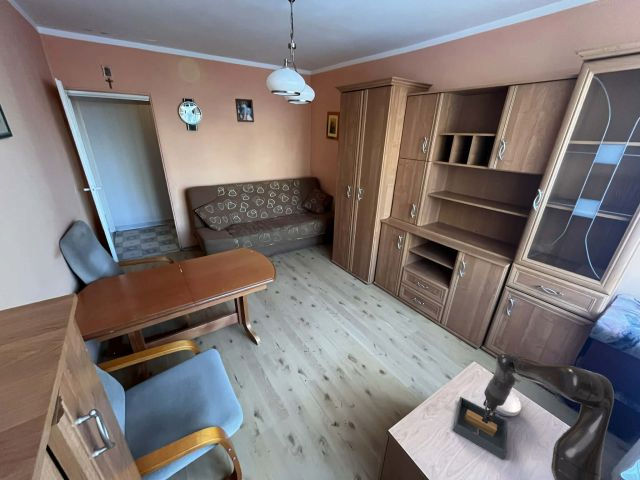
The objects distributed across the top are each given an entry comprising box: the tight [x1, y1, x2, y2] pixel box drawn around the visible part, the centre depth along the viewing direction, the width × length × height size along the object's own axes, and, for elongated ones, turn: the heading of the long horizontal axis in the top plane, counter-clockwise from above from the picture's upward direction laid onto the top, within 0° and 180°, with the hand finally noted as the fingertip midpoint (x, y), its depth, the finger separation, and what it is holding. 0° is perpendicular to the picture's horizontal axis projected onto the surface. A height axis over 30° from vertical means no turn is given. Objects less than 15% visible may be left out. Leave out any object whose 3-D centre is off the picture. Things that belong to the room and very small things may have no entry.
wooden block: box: [464, 410, 497, 436], centre depth 120 cm, size 7×12×5 cm, turn 57°
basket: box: [452, 396, 508, 460], centre depth 121 cm, size 16×20×6 cm
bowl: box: [495, 390, 522, 417], centre depth 130 cm, size 14×14×8 cm
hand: (485, 413), depth 119 cm, fingers open, 8 cm apart
